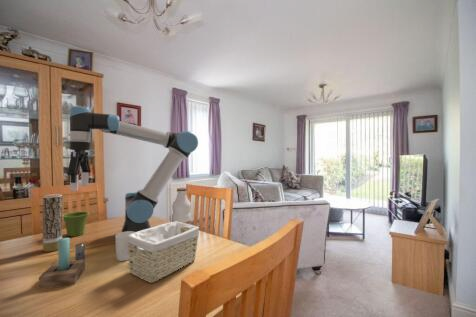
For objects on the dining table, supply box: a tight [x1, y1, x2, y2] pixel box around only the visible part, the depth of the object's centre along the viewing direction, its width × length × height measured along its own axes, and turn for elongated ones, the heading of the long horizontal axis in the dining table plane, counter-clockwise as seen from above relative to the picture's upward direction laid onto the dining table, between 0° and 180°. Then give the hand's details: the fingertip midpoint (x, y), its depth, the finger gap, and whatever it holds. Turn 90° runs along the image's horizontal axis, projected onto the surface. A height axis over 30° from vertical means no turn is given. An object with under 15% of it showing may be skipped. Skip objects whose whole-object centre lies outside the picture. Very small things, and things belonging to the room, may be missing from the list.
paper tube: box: [42, 193, 63, 253], centre depth 102 cm, size 7×7×25 cm
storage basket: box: [127, 221, 200, 284], centre depth 88 cm, size 24×16×15 cm
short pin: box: [74, 242, 86, 261], centre depth 91 cm, size 3×3×7 cm
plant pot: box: [62, 211, 90, 238], centre depth 121 cm, size 12×12×11 cm
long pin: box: [57, 237, 71, 271], centre depth 79 cm, size 3×3×14 cm
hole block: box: [38, 258, 86, 290], centre depth 79 cm, size 10×10×4 cm
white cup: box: [114, 231, 135, 262], centre depth 96 cm, size 8×8×10 cm
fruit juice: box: [171, 187, 192, 233], centre depth 111 cm, size 9×9×28 cm
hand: (79, 188), depth 101 cm, fingers open, 13 cm apart
